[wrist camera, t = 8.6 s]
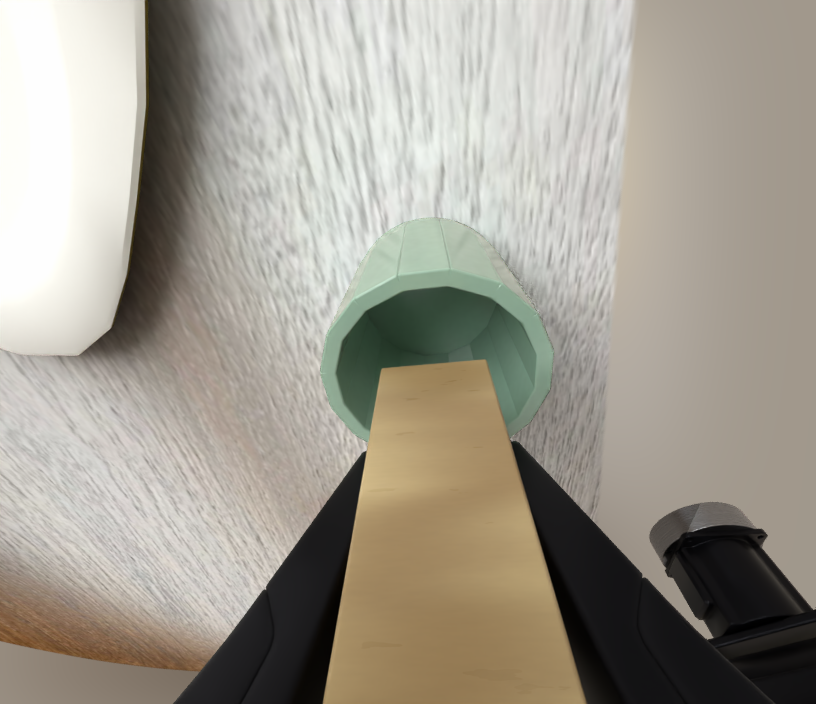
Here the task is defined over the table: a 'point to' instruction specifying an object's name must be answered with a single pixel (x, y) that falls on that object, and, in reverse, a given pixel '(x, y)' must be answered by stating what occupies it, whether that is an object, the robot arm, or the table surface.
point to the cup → (435, 321)
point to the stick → (446, 558)
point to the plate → (69, 167)
